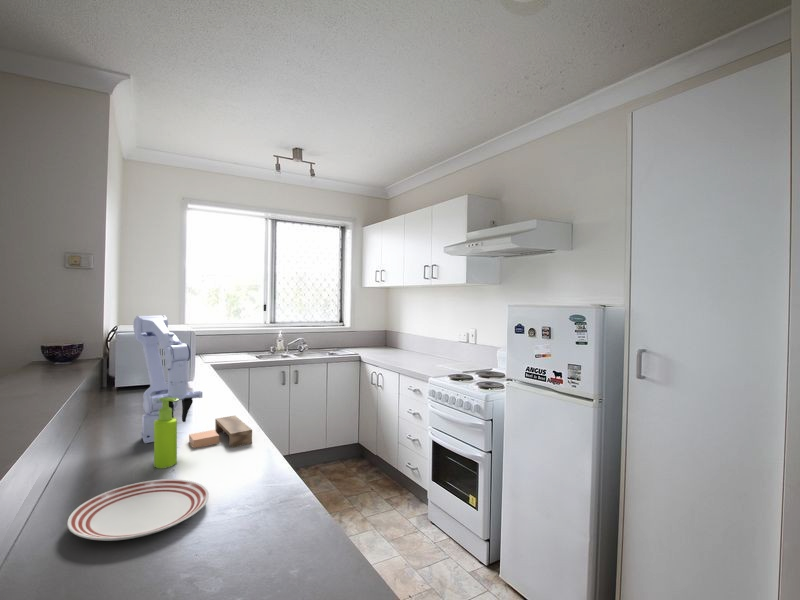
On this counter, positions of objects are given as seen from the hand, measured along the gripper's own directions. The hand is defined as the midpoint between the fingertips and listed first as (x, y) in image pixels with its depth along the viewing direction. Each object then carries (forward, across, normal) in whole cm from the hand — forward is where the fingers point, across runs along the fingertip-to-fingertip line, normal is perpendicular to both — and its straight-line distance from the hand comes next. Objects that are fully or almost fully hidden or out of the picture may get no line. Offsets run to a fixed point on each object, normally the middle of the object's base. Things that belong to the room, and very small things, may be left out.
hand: (177, 422), depth 139 cm
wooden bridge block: (+8, +16, 0) cm, 19 cm away
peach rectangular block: (+8, +8, 0) cm, 12 cm away
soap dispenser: (+9, -5, -13) cm, 16 cm away
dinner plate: (+9, -14, -42) cm, 45 cm away
